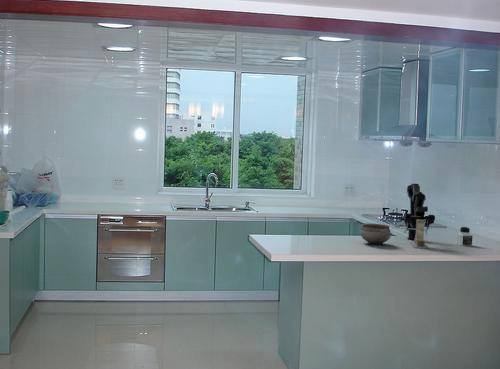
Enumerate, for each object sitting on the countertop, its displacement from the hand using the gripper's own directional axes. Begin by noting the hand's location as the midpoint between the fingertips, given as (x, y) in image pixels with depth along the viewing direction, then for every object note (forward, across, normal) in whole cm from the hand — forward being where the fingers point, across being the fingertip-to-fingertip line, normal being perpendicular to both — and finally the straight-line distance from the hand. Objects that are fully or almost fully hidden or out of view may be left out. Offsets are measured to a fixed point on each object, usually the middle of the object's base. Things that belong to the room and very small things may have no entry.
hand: (420, 228), depth 383 cm
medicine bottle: (-5, +32, +22) cm, 39 cm away
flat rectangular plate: (+7, 0, +9) cm, 12 cm away
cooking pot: (+10, -28, +7) cm, 30 cm away
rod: (+4, 0, +6) cm, 8 cm away
